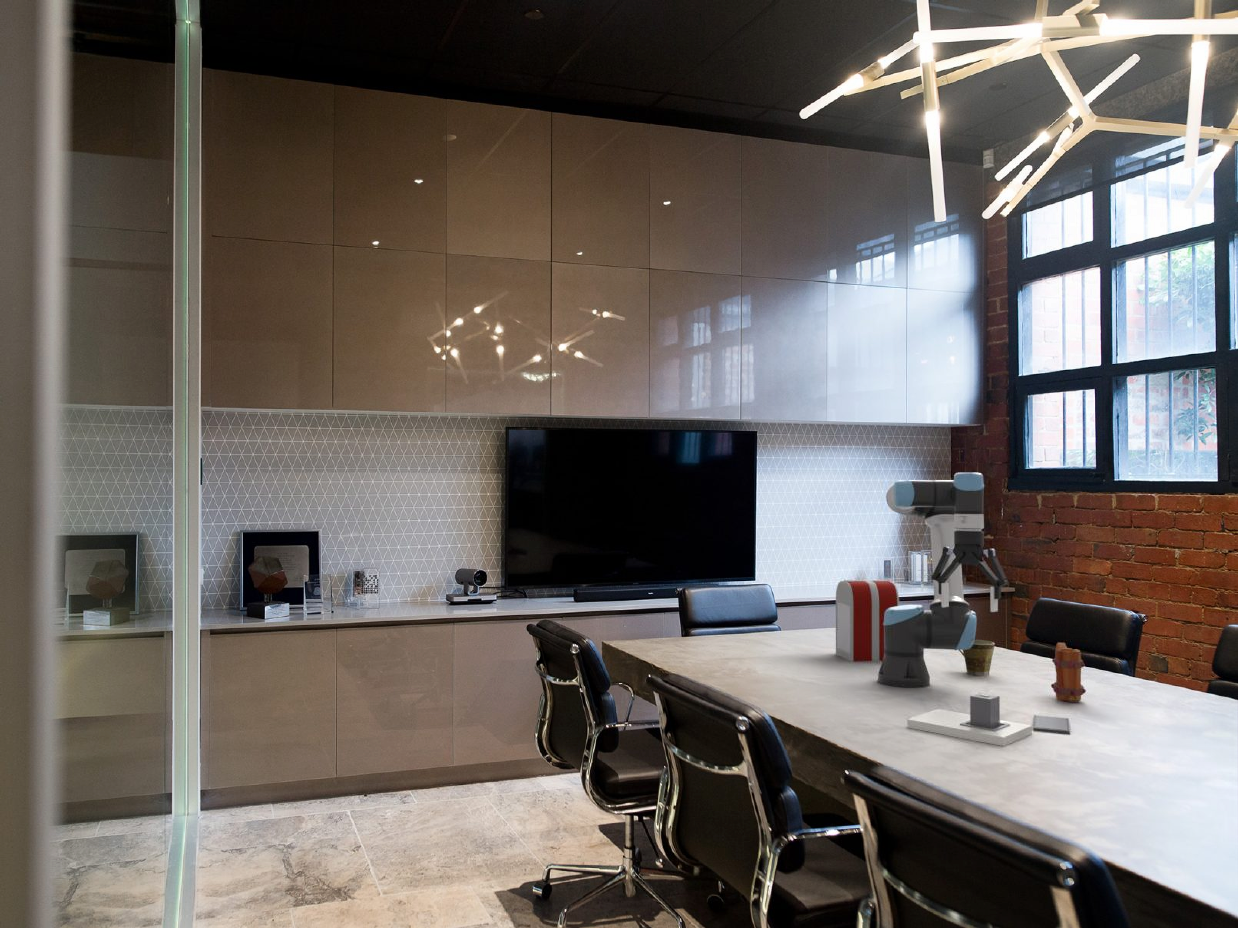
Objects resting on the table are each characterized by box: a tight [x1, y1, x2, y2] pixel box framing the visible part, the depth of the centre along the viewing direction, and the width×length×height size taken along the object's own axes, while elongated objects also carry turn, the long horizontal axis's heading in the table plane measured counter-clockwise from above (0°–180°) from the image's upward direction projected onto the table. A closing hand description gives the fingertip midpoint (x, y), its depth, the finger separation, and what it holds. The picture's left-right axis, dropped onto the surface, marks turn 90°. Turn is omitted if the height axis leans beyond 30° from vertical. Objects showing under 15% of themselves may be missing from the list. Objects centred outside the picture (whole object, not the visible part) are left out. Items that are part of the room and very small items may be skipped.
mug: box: [1050, 642, 1087, 703], centre depth 269 cm, size 15×8×15 cm, turn 168°
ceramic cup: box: [958, 639, 995, 676], centre depth 306 cm, size 13×10×10 cm
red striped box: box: [835, 579, 900, 663], centre depth 334 cm, size 16×18×27 cm
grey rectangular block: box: [969, 692, 1001, 729], centre depth 229 cm, size 5×5×9 cm
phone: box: [1032, 714, 1071, 735], centre depth 237 cm, size 8×15×1 cm, turn 156°
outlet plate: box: [906, 708, 1033, 747], centre depth 231 cm, size 24×16×2 cm, turn 45°
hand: (969, 609), depth 255 cm, fingers open, 13 cm apart
